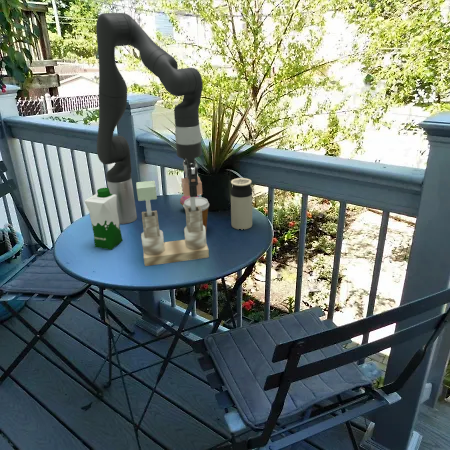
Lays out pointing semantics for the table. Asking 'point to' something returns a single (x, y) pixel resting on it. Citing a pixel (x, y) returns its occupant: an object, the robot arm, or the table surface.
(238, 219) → the travel mug
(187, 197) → the cupcake
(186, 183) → the terracotta plunger
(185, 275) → the table surface
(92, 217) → the milk carton
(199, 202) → the disposable coffee cup
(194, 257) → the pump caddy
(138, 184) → the sage plunger
